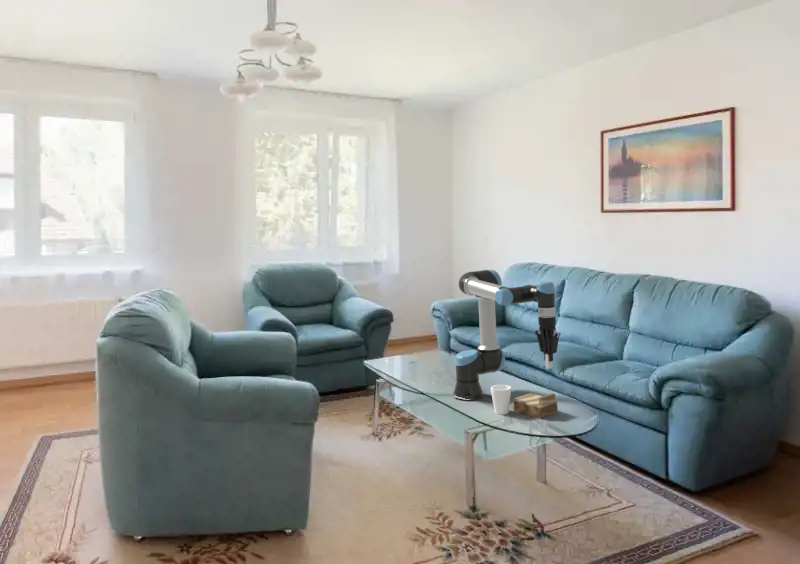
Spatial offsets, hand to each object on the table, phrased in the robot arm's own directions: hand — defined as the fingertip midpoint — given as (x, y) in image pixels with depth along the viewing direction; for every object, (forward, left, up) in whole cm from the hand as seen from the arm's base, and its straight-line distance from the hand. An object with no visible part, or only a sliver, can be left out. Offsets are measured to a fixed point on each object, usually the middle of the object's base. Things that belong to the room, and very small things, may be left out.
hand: (549, 367), depth 271 cm
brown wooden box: (-9, 0, -24) cm, 25 cm away
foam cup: (-19, -11, -24) cm, 33 cm away
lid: (-9, 0, -18) cm, 20 cm away
